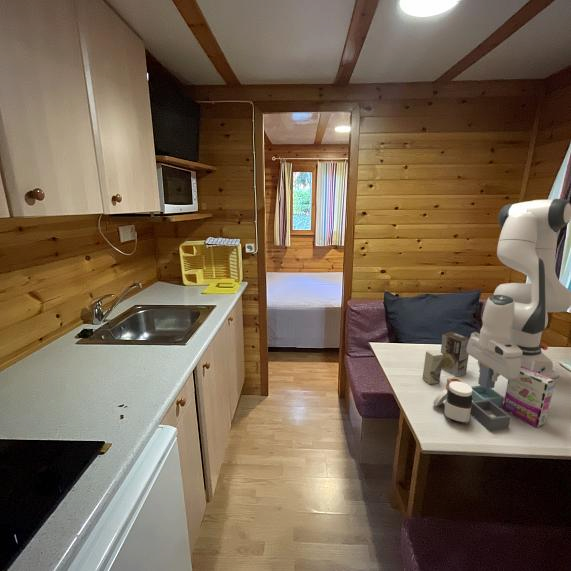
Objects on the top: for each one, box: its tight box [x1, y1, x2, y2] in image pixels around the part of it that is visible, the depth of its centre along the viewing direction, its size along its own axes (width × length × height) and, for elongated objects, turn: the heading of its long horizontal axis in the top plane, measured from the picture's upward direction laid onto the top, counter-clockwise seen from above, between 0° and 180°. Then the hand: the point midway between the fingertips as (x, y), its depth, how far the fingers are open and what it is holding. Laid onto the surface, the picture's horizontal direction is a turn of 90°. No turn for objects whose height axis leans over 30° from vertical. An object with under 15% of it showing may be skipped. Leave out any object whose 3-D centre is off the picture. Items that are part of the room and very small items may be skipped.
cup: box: [445, 377, 465, 390], centre depth 119 cm, size 4×4×5 cm
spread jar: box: [432, 381, 473, 424], centre depth 106 cm, size 12×11×12 cm
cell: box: [478, 362, 496, 389], centre depth 111 cm, size 4×4×10 cm
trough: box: [470, 384, 505, 408], centre depth 114 cm, size 8×8×4 cm
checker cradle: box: [470, 400, 512, 432], centre depth 104 cm, size 7×10×4 cm
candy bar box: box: [502, 366, 556, 428], centre depth 104 cm, size 11×5×16 cm, turn 24°
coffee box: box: [440, 331, 470, 377], centre depth 133 cm, size 9×6×16 cm
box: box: [422, 349, 443, 385], centre depth 126 cm, size 5×4×13 cm
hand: (487, 376), depth 112 cm, fingers closed on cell, 3 cm apart
